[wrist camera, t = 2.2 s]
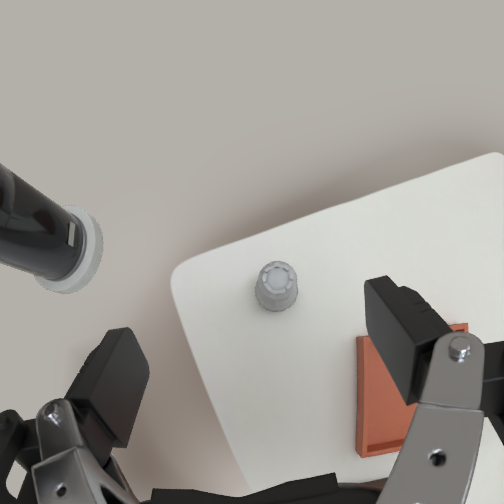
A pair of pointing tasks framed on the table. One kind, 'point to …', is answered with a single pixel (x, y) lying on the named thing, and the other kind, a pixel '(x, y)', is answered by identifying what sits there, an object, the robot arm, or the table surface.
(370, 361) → the terracotta tray
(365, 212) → the table surface
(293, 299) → the rook chess piece
